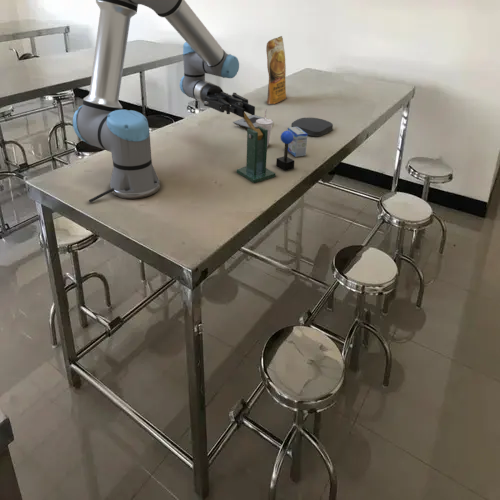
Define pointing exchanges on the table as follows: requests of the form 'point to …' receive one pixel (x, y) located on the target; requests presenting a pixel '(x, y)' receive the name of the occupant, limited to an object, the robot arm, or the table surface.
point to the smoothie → (265, 125)
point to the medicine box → (298, 142)
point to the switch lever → (250, 122)
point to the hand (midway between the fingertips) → (248, 112)
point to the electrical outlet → (252, 119)
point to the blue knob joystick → (285, 153)
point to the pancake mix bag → (276, 70)
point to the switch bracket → (256, 157)
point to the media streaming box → (313, 126)
